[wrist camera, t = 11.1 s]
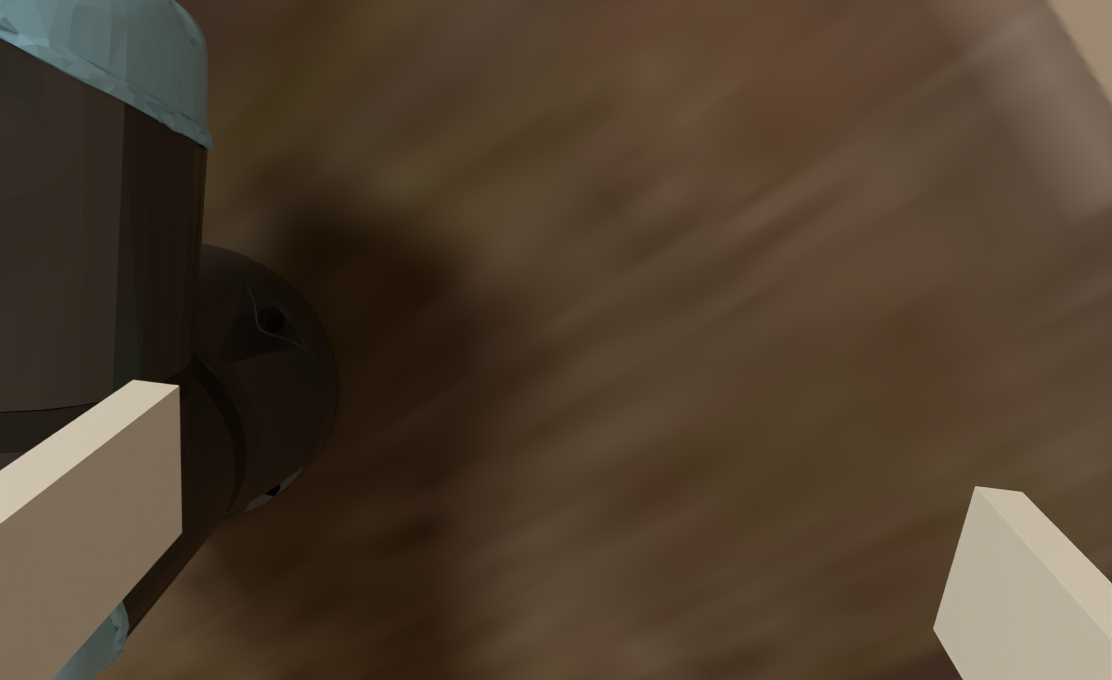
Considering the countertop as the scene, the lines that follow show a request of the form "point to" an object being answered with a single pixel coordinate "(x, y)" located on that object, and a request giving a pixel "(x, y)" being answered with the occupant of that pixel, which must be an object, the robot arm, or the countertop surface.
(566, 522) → the countertop surface
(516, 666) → the countertop surface
